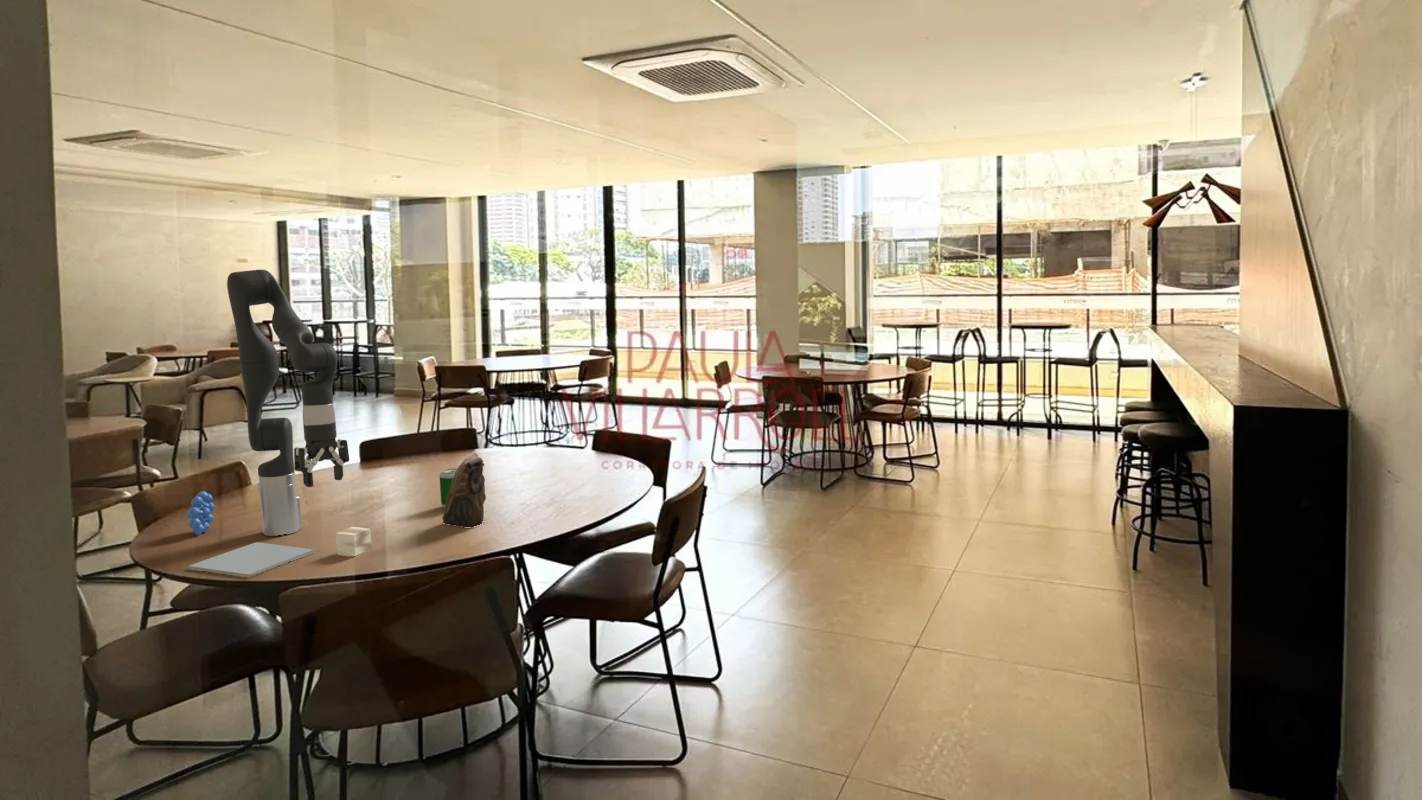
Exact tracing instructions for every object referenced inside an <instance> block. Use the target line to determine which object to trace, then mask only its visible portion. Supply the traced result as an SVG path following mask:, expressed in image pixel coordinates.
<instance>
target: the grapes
mask: <svg viewBox="0 0 1422 800" xmlns="http://www.w3.org/2000/svg"><path fill="white" fill-rule="evenodd" d="M213 499H214V498H213V496H212V494H211V493H207V491H204V490H201V491H200V492H198V493H197V495H196V496H195V497H194V498H193V499H192V500H191V501H190V503H191V505H192V507H190V508H189V509H188V510H187V511H186V513H185V515H186V517H187V518H188V519H189V520H190V521H189V522H188V526H189V527H190V528H191V529H192V532H193V533H194V534H195V535H197V536H200V535H201V534H203V533H202V532H204V533H206V532H208V530H210V528H211V526H210V524H211V523H213V521H214V520H215V517H214V515H213V514H212V512H214V510H215V509H216V505H215V504H214V503H213V502H212V501H213ZM205 531H206V532H205Z"/></svg>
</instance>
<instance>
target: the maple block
mask: <svg viewBox="0 0 1422 800" xmlns="http://www.w3.org/2000/svg"><path fill="white" fill-rule="evenodd" d="M335 542H336V553H337V554H336V555H337V556H343V557H350V556H356V555H358V554H361V553H363V552H366V551H368V550H371V551H372V550H373V549H372V548H373V547H372V546H373V545H372V531H371V528H366V527H357V526H351V527H348V528H346V529H343V530H340V531H338V532H335ZM366 553H367V552H366Z"/></svg>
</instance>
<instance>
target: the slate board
mask: <svg viewBox="0 0 1422 800" xmlns="http://www.w3.org/2000/svg"><path fill="white" fill-rule="evenodd" d="M312 553H313V554H314V553H315V552H314V549H313V548H312V549H311V548H305V547H304V548H303V547H299V546H298V547H296V546H290V545H289V546H288V545H282V544H281V545H280V544H275V543H274V544H273V543H266V542H260V541H259V542H258V541H256V542H253V543H251V544H247V545H245V546H241V547H239V548H236V549H233V550H230V551H227V552H224V553H221V554H219V555H216V556H213V557H210V558H207V559H204V560H202V561H199V562H196V563H193V564H190V565H188V570H190V571H195V570H196V572H202V571H210V572H218V573H226V574H236V575H245V576H250V575H252V574H256V573H260V572H263V571H265V570H267V569H270V568H272V567H275V566H277V565H280V564H283V563H285V562H288V561H292V562H294V561H293V560H295V561H297V560H300V559H302V557H303V558H304V557H308V556H310V555H313V554H312ZM309 554H310V555H309ZM307 555H308V556H307ZM299 558H300V559H299ZM296 559H297V560H296Z"/></svg>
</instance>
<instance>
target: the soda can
mask: <svg viewBox="0 0 1422 800" xmlns="http://www.w3.org/2000/svg"><path fill="white" fill-rule="evenodd" d="M457 469H458V467H457V468H454V467H453V468H446V469H445V468H444V469H443V470H442V471H441V472H440V473H439V488H440V489H439V490H440V505H441V506H442V507H443V508H444V509H445V506H446V499H447V497H448V494H449V491H450V487H451V483H452V479H453V477H454V475H455V472H456V471H457Z"/></svg>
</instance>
